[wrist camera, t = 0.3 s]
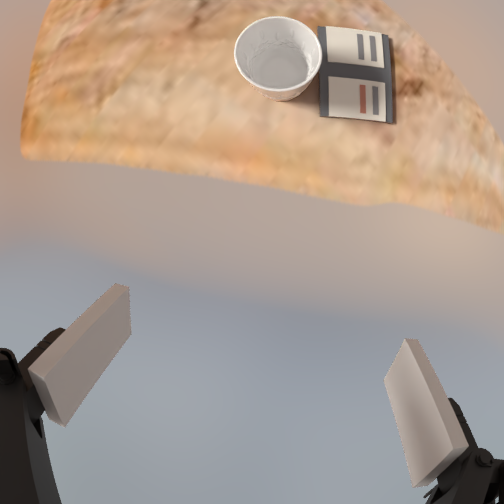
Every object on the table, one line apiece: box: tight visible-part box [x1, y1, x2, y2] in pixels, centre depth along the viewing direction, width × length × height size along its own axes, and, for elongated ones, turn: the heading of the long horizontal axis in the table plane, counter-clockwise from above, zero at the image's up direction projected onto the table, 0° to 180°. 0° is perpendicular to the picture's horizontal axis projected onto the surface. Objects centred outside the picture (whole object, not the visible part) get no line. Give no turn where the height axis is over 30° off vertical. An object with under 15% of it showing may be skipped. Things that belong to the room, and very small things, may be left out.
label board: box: [317, 26, 392, 123], centre depth 30 cm, size 12×9×1 cm
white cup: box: [234, 16, 322, 101], centre depth 27 cm, size 8×8×10 cm
